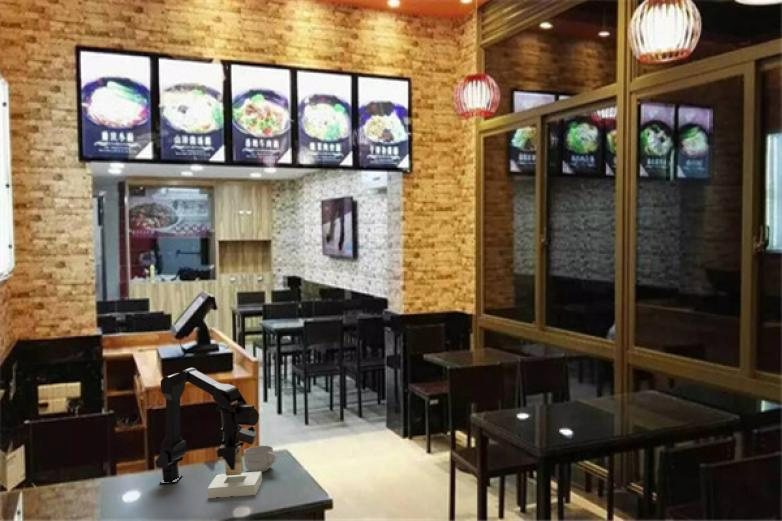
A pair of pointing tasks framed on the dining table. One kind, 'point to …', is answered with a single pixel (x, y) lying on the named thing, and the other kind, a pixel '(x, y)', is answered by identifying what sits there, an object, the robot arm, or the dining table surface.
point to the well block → (235, 485)
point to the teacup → (259, 458)
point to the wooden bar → (238, 465)
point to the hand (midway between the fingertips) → (234, 467)
